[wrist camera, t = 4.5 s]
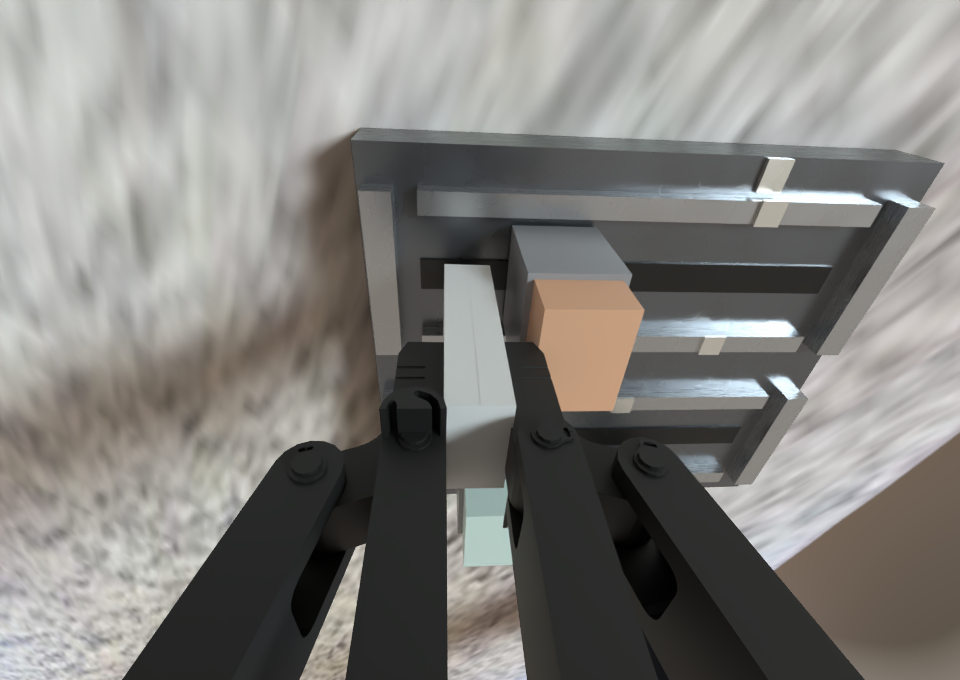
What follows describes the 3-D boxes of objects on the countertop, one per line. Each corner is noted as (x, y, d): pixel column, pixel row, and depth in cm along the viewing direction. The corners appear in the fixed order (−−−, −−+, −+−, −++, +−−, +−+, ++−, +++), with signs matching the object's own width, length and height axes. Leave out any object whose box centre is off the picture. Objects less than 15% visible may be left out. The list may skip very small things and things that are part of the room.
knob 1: (457, 411, 20) (460, 514, 16) (521, 411, 20) (541, 511, 16) (456, 467, 22) (458, 569, 18) (513, 466, 23) (529, 566, 18)
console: (360, 127, 15) (345, 145, 13) (895, 150, 17) (967, 169, 14) (394, 465, 25) (389, 508, 23) (720, 458, 27) (745, 498, 25)
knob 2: (512, 225, 15) (538, 302, 11) (596, 227, 15) (654, 303, 11) (502, 321, 17) (521, 416, 13) (576, 322, 18) (617, 415, 13)
